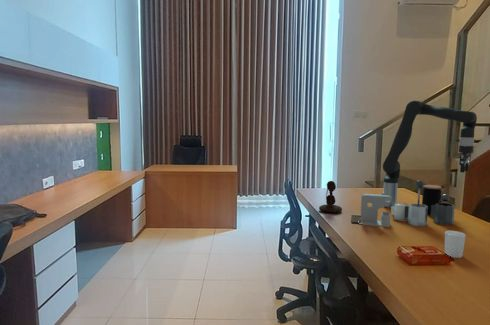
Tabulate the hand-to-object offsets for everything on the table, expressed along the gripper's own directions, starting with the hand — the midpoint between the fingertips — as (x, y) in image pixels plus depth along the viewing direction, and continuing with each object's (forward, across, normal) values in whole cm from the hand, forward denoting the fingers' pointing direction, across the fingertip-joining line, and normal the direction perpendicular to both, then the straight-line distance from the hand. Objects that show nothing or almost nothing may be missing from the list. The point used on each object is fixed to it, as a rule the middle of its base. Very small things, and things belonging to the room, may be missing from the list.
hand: (464, 171), depth 214 cm
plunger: (+20, +32, -15) cm, 40 cm away
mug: (+29, +28, -26) cm, 48 cm away
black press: (+29, +18, -6) cm, 35 cm away
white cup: (+29, +72, +14) cm, 79 cm away
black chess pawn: (+30, +42, -66) cm, 83 cm away
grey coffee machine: (+30, +48, -33) cm, 66 cm away
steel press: (+29, +32, -16) cm, 46 cm away
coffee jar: (+30, 0, -17) cm, 34 cm away
